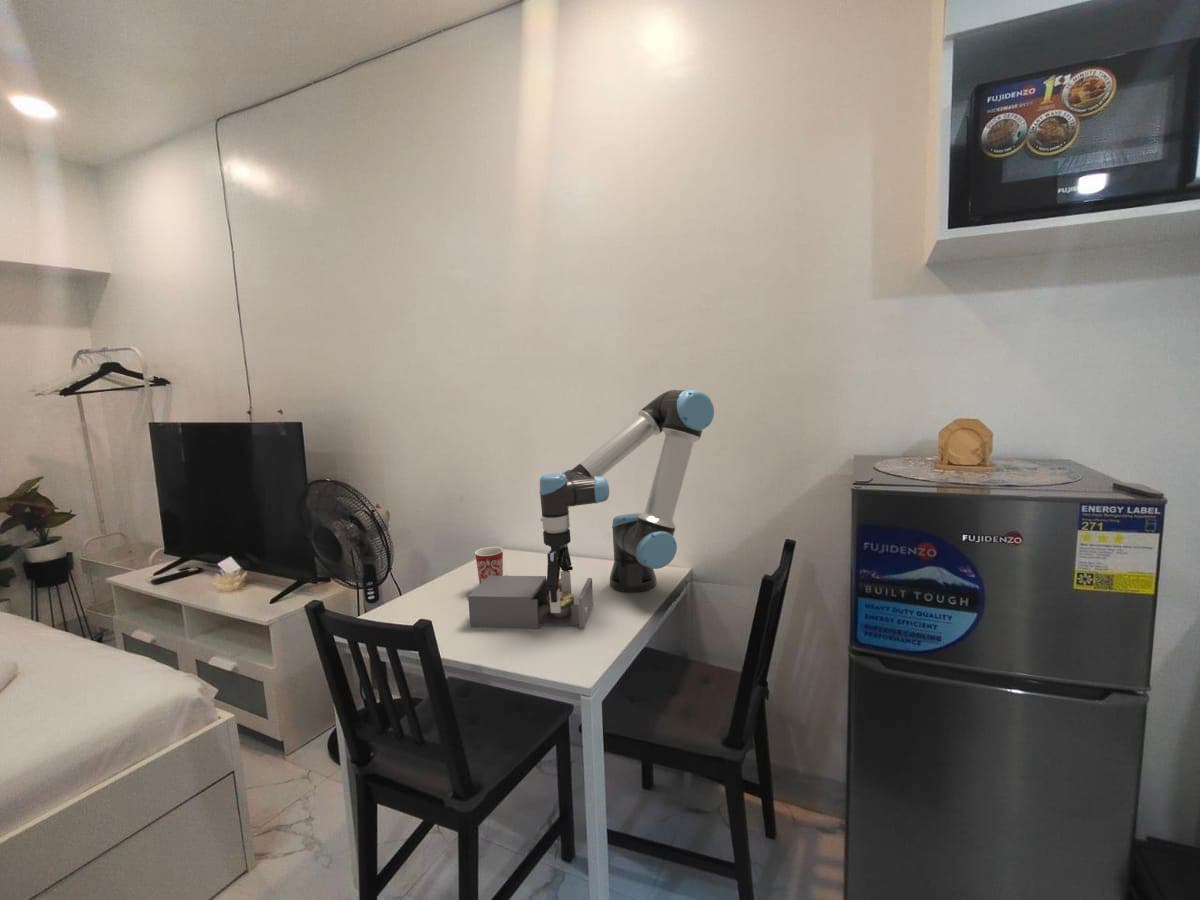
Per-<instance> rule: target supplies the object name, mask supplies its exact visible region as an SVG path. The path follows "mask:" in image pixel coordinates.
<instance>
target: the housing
mask: <svg viewBox="0 0 1200 900" xmlns="http://www.w3.org/2000/svg"><path fill="white" fill-rule="evenodd" d="M546 588H547V575H503V576H488V577H487V578H486V579H485V580H484V581H483V582H482V583H481V584H479V585H478V586H477V587H475V588H474V590H473V591H472V592H471V593H469V595H468V596H467V600H468V612H469V613H468V614H469V623H470V625H469V626H470V628H482V629H483V628H484V629H516V630H517V629H520V630H525V629H527V630H539V629H540V627H541V626H540V625H539V611H538V604H546V597H547V596H548V595H549V591H546Z"/></svg>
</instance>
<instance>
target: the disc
mask: <svg viewBox="0 0 1200 900" xmlns="http://www.w3.org/2000/svg"><path fill="white" fill-rule="evenodd" d="M560 604H561V608H566V607H569V606H571V605H573V604H575V595H574V594H573V593H572V592H571V593H569V592H560ZM546 605H547V606H548V607H550V596H549V595H548V596H547V597H546Z"/></svg>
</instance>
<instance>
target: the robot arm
mask: <svg viewBox="0 0 1200 900" xmlns="http://www.w3.org/2000/svg"><path fill="white" fill-rule="evenodd" d="M714 415H715V408H714V404H713V401H712V400H711V398H710V397H709V395H708V394H706V393H705V392H704V391H701V390H697V389H692V388H690V389H671V390H668V391H665V392H663V393H661V394H659V395H658V396H657V397H655V398H654V399H653V400H652V401H651V402H649V403H648V404H647V405H645V406H644V407H643V408H641V409H640V410H639V411H638V416H637V417H636V418H634V419H633V420H632V421H631V422H629V423H628V424H627V425H625V426H624V427H622V428H621V430H620V431H618V432H617V433H616V434H615V435H614V436H613V435H612V437H611V438H609V439H608V440H607V441H606V442H604V443H603V444H602V445H601V446H600V447H598V448H597V449H596V450H594V451H593V452H592V453H591V454H590V455H589V456H587V457H586V458H585V459H584V460H583V461H580V462H579V464H577V465H575V467H573V468H572V469H567V470H564V471H562V472H561V473H548V474H544V475H542V476H541V477H540V478H539V496H540V506H541V508H540V509H541V518H540V520H539V521H540V522H542V530H543V532H542V536H543V538H542V539H543V544H544V545H545V546H549V547H550V551H549V552H548V553H547V572H546V579H547V588H546V591H549V596H550V609H551V613H561V604H560V590H559V589H558V585H559V579H561V586H562V592H569V593H572V580H571V571H573V566H572V560H571V557H570V550H569V547H568V546H569V545H568V544H569V543H571V531H570V529H569V528H570V527H571V526H570V525H571V524H570V513H569V512H570V511H569V510H570V509H569V507H576V506H577V507H578V506H586V505H593V504H599V503H604V502H606V501H607V500H608V499H609V497H610V486H609V481H608V480H607V478H606V477H605V476H604V475H605V474H607V473H608V472H609V471H611V470H612V469H613V468H614V467H615V466H617V465H618V464H619V463H620V462H622V461H623V460H624V459H626V457H628V456H629V455H630V454H632V453H633V451H635V450H636V449H638V447H640V446H641V445H642V444H643V443H644V442H646V441H647V440H649V439H650V438H651V437H652V436H653V435H655V436H659V434H660V433H662V432H663V433H664V440H663V445H662V447H661V451H660V455H659V458H658V462H657V465H656V470H655V474H654V476H653V477H654V478H653V480H652V485H651V488H650V491H649V495H648V498H647V499H648V500H647V502H646V505H645V510H644V512H643V513H642V512H636V513H635V512H634V513H626V514H619V515H616V516H614V517H613V519H612V526H611V528H612V546H613V547H612V548H613V559H614V560H613V564H612V569H611V572H610V575H609V586H610V587H611V588H612V589H614V590H617V591H620V592H625V593H637V592H644V591H648V590H650V589H653V588H654V587H655V586H656V584H657V576H656V573H655V570H656V569H657V570H658V569H662V568H665V567H666V566H667V565H669V564H670V563H672V561H673V560H674V559H675V557H676V554H677V551H678V545H677V541H676V539H675V537H674V534H675V531H676V525H675V522H674V520H673V518H674V516H675V511H676V508H677V506H678V505H677V504H678V500H679V497H680V493H681V489H682V486H683V483H684V479H685V475H686V471H687V468H688V464H689V460H690V457H691V453H692V449H693V447H694V444H695V442H697V441H700V439H701V437H702V432H703V430H704V429H707V427H709V426H710V425H711V424H712V422H713V419H714Z"/></svg>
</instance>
